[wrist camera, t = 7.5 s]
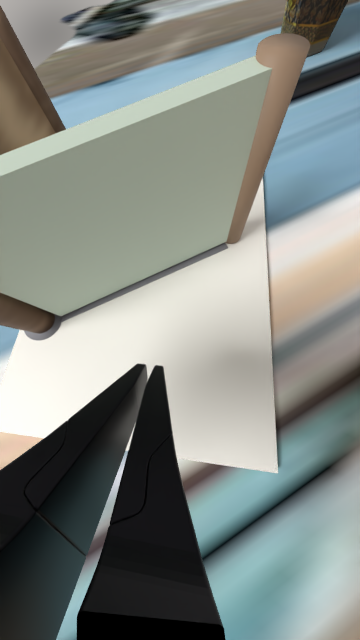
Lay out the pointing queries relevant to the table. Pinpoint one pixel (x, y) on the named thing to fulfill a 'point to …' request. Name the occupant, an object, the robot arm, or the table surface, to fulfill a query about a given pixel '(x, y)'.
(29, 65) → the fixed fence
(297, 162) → the table surface
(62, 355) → the card
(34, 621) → the robot arm
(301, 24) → the ceramic cup
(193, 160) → the folding panel
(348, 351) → the table surface
